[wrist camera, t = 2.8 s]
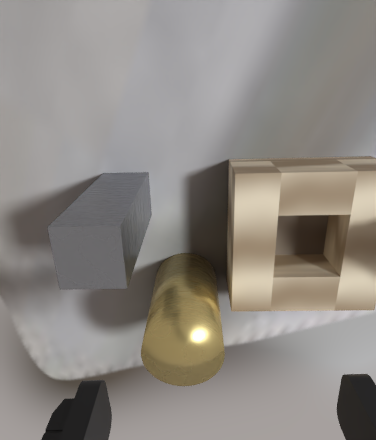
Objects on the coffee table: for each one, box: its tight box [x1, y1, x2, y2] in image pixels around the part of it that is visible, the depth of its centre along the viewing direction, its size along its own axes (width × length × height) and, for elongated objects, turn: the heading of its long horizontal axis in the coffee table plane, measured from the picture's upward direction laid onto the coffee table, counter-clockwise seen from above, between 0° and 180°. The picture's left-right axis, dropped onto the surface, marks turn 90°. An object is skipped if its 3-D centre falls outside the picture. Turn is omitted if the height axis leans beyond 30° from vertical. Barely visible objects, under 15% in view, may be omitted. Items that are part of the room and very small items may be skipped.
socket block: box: [226, 156, 376, 311], centre depth 28 cm, size 12×12×5 cm
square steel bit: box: [47, 172, 151, 289], centre depth 24 cm, size 4×4×12 cm
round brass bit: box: [141, 253, 225, 386], centre depth 29 cm, size 6×6×10 cm
